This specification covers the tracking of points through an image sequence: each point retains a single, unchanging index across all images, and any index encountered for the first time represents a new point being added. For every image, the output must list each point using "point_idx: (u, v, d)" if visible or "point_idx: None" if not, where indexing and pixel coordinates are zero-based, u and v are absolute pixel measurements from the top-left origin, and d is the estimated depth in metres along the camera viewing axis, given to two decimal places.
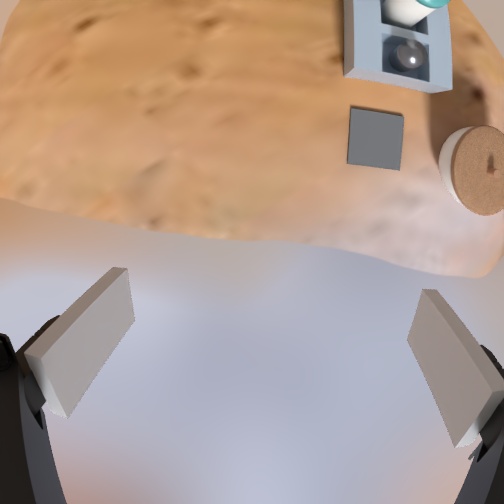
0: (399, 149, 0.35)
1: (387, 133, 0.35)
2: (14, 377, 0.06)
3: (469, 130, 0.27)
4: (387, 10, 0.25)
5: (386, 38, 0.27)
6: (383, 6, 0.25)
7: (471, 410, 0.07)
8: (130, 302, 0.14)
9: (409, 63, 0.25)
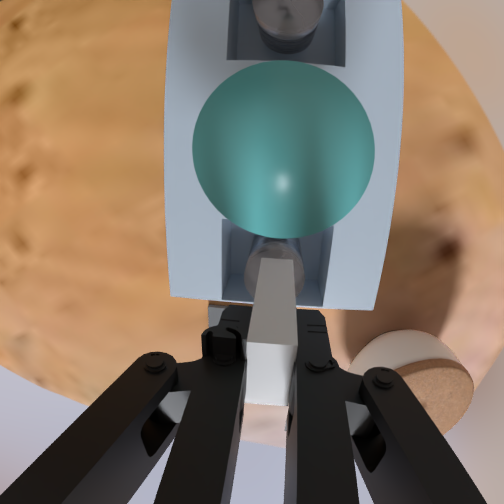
0: None
1: None
2: (236, 378, 0.08)
3: None
4: None
5: None
6: None
7: None
8: None
9: None
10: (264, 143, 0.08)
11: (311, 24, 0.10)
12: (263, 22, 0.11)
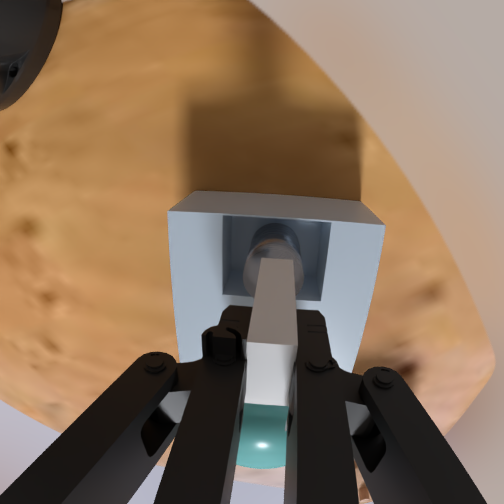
0: None
1: None
2: (237, 378, 0.08)
3: None
4: None
5: None
6: None
7: None
8: None
9: None
10: (248, 444, 0.13)
11: None
12: None
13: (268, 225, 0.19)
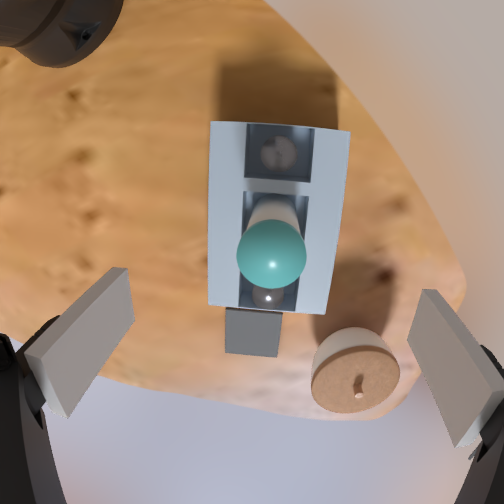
0: (276, 341, 0.40)
1: (263, 330, 0.40)
2: (14, 377, 0.06)
3: (336, 356, 0.32)
4: None
5: None
6: None
7: (471, 410, 0.07)
8: (130, 302, 0.14)
9: (261, 306, 0.31)
10: (264, 254, 0.22)
11: None
12: None
13: (275, 135, 0.28)
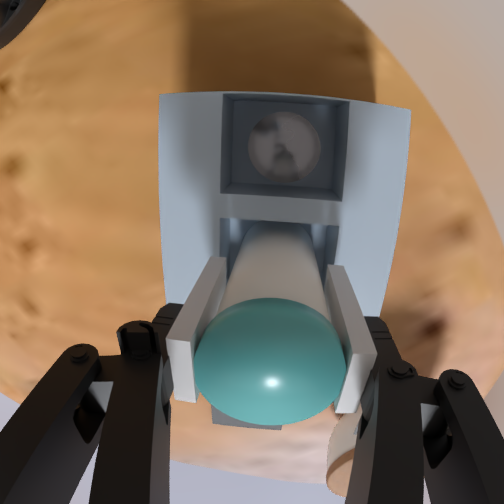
0: None
1: None
2: (154, 370, 0.08)
3: None
4: None
5: None
6: None
7: None
8: None
9: None
10: (252, 375, 0.09)
11: (306, 175, 0.13)
12: (259, 171, 0.13)
13: None
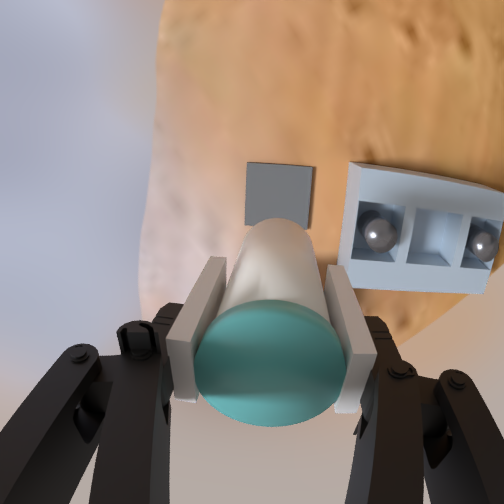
0: None
1: (285, 209, 0.35)
2: (154, 370, 0.08)
3: None
4: None
5: (397, 212, 0.30)
6: None
7: None
8: None
9: (368, 229, 0.28)
10: (252, 377, 0.09)
11: (478, 256, 0.27)
12: (482, 238, 0.26)
13: None
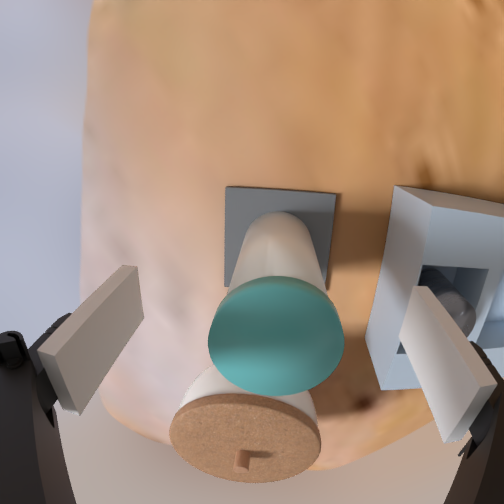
0: None
1: None
2: (26, 375, 0.07)
3: (310, 423, 0.18)
4: None
5: (469, 273, 0.17)
6: None
7: (459, 405, 0.07)
8: (139, 300, 0.14)
9: None
10: (261, 346, 0.11)
11: None
12: None
13: None
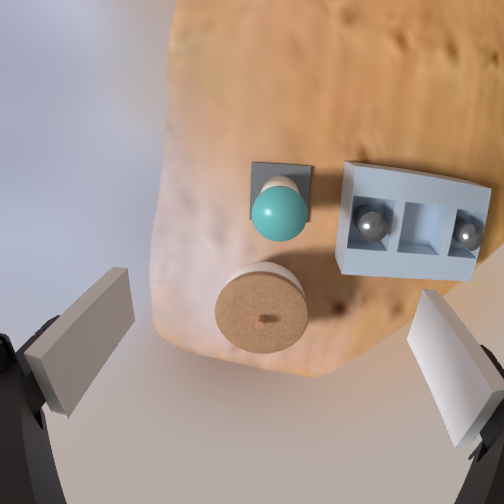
0: None
1: None
2: (14, 377, 0.06)
3: (300, 292, 0.35)
4: None
5: (388, 206, 0.33)
6: None
7: (471, 410, 0.07)
8: (130, 302, 0.14)
9: (362, 221, 0.31)
10: (273, 213, 0.27)
11: (464, 245, 0.31)
12: (467, 229, 0.30)
13: None
